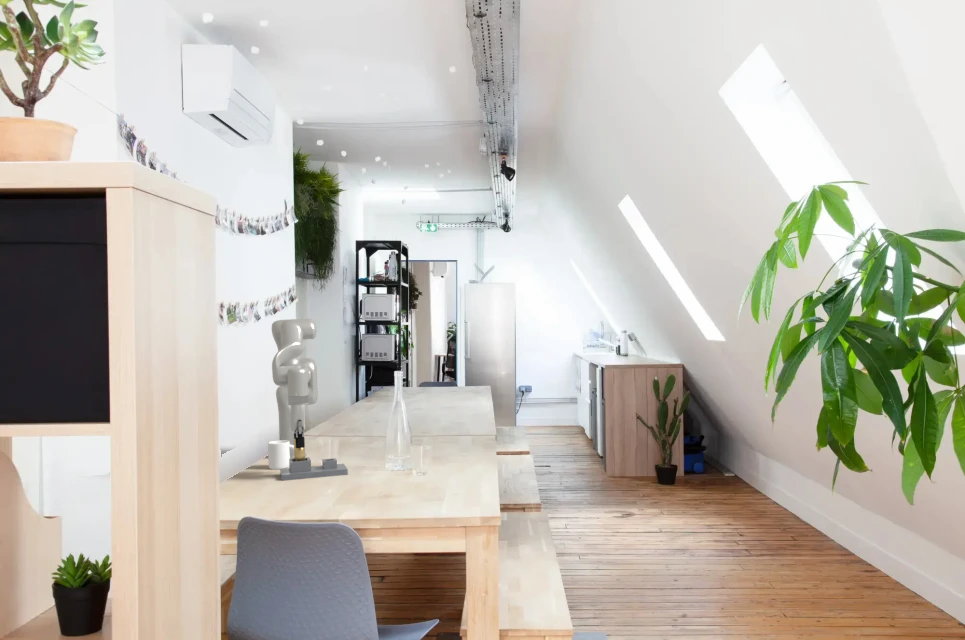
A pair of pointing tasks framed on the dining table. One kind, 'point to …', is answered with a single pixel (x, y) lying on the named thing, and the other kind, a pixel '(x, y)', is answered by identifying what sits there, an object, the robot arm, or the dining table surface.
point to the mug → (279, 454)
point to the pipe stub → (299, 452)
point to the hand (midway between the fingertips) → (299, 445)
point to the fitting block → (312, 469)
